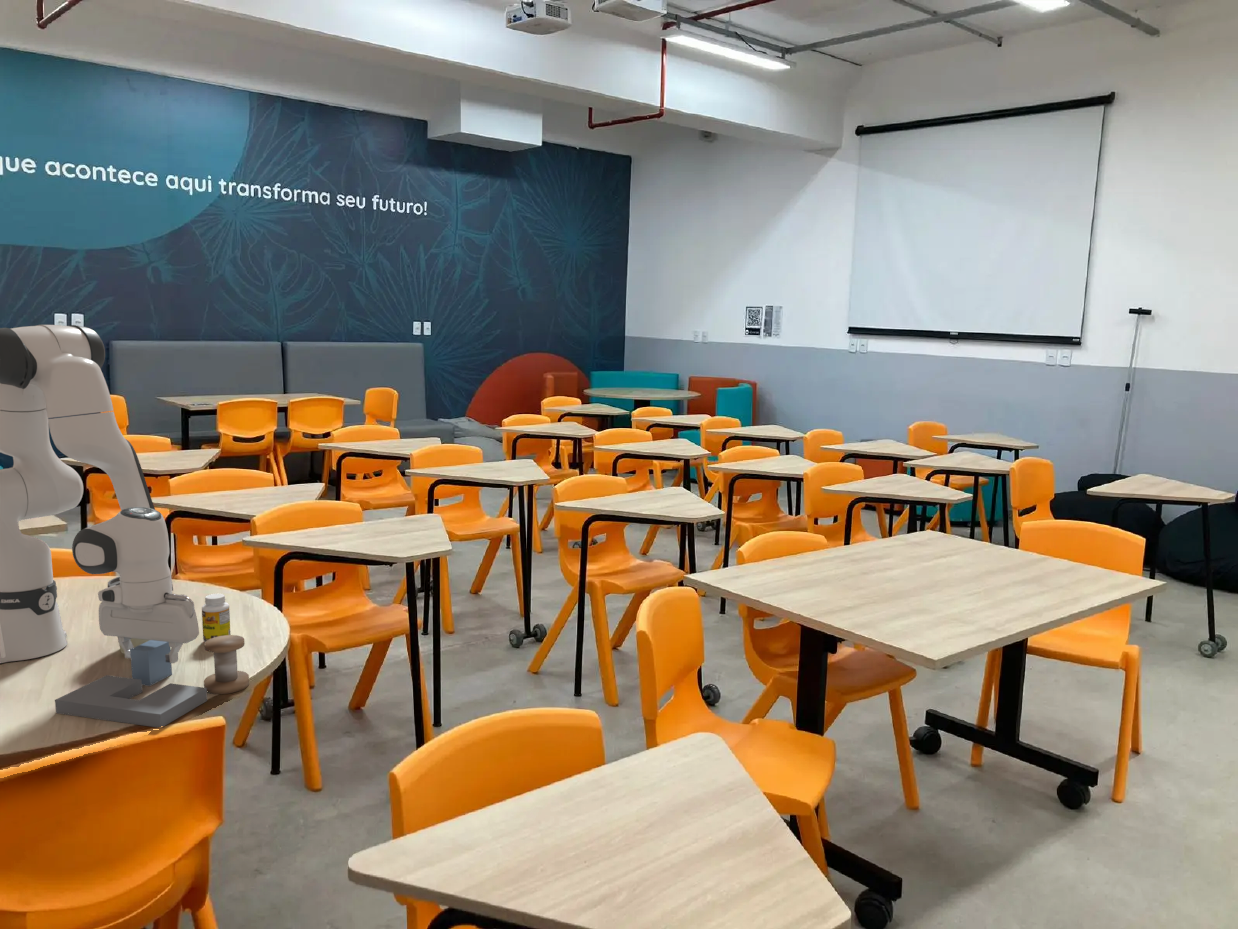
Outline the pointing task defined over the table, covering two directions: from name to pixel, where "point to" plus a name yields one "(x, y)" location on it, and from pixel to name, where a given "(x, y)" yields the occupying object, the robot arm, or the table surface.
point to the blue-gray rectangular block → (150, 662)
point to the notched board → (130, 701)
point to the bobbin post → (225, 665)
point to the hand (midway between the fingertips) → (151, 660)
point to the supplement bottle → (215, 617)
